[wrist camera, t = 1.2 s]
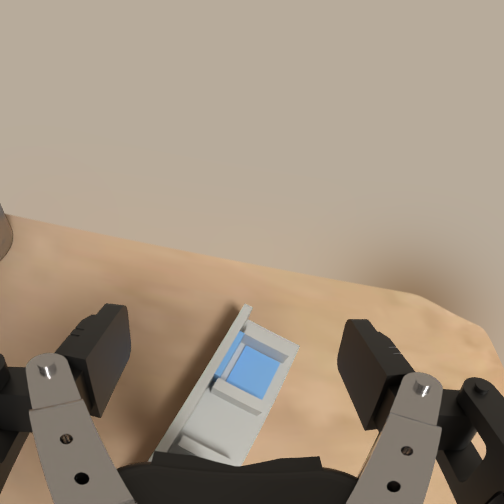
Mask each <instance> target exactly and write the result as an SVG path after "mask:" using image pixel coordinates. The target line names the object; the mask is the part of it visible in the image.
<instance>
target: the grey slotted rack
mask: <svg viewBox="0 0 504 504" xmlns="http://www.w3.org/2000/svg"><path fill="white" fill-rule="evenodd" d="M252 309H253V307H251V306H249V305H247V304H244V306H243V308H242V309H241V311H240V313H239V314H238V316H237V318H236V319H235V321H234V323H233V324H232V326H231V328H230V329H229V331H228V333H227V334H226V336H225V338H224V339H223V341H222V342H221V344H220V346H219V347H218V349H217V351H216V352H215V354H214V356H213V357H212V359H211V361H210V362H209V364H208V366H207V367H206V369H205V370H204V372H203V374H202V375H201V377H200V379H199V380H198V382H197V383H196V385H195V387H194V388H193V390H192V392H191V393H190V395H189V396H188V398H187V400H186V401H185V403H184V404H183V406H182V408H181V409H180V411H179V413H178V414H177V416H176V417H175V419H174V421H173V422H172V424H171V425H170V427H169V428H168V430H167V432H166V433H165V435H164V436H163V438H162V440H161V441H160V443H159V444H158V446H157V447H156V449H155V451H160V452H167V453H175V454H184V455H194V456H198V457H201V458H205V459H208V460H212V461H216V462H220V463H224V464H228V465H232V466H241V465H242V463H243V462H244V460H245V458H246V456H247V454H248V452H249V450H250V448H251V447H252V445H253V443H254V441H255V439H256V437H257V435H258V433H259V431H260V429H261V427H262V425H263V423H264V421H265V419H266V417H267V415H268V413H269V411H270V409H271V407H272V405H273V403H274V401H275V399H276V397H277V395H278V393H279V391H280V388H281V386H282V384H283V382H284V380H285V378H286V376H287V373H288V371H289V369H290V367H291V365H292V363H293V360H294V358H295V356H296V354H297V351H298V349H299V347H300V346H299V345H297V344H295V343H293V342H291V341H289V340H287V339H285V338H283V337H281V336H279V335H277V334H275V333H273V332H271V331H269V330H267V329H265V328H263V327H261V326H260V325H258V324H256V323H254V322H252V321H250V320H248V318H249V316H250V313H251V311H252ZM153 453H154V452H153ZM152 457H153V454H152V455H151V457H150V459H149V460H148V462H151V461H152Z"/></svg>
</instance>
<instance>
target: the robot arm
mask: <svg viewBox="0 0 504 504" xmlns="http://www.w3.org/2000/svg"><path fill="white" fill-rule="evenodd" d="M12 239H13V233H12V229H11V227H10V225H9V223H8V221H7V218H6V216H5V214H4V211H3V209H2V207H1V205H0V260H1V259H2V258H3V257H4V256H5V254H6V253H7V251H8V250H9V248H10V246H11V243H12ZM130 352H131V339H130V330H129V320H128V311H127V307H126V306H125V305H116V304H108V303H106V304H105V305H104V306H103V307H102V308H101V310H100V311H99V312H98V313H97V314H96V315H91V316H89V317H87V318H85V319H83V320H82V321H81V322H80V323H79V324H78V325H77V327H76V329H74V330H73V331H72V332H71V334H70V335H69V336H68V337H67V338H66V340H65V341H64V342H63V343H62V344H61V346H60V347H59V348H58V349H57V350H56V352H55V353H45V354H40V355H38V356H35V357H34V358H32V359H31V360H30V361H29V362H28V363H27V365H26V367H7V364H6V362H5V359H4V357H3V355H2V354H0V493H1V491H2V489H3V486H4V484H5V482H6V480H7V478H8V475H9V473H10V471H11V469H12V467H13V465H14V463H15V461H16V458H17V456H18V454H19V452H20V450H21V448H22V446H23V444H24V442H25V440H26V438H27V437H28V435H29V433H30V432H33V435H34V439H35V443H36V447H37V451H38V455H39V458H40V462H41V465H42V469H43V472H44V475H45V479H46V482H47V485H48V488H49V491H50V493H51V496H52V499H53V502H54V504H423V502H424V499H425V496H426V492H427V489H428V486H429V482H430V479H431V475H432V471H433V467H434V463H435V459H436V460H437V462H438V464H439V466H440V468H441V470H442V472H443V474H444V476H445V479H446V481H447V483H448V485H449V487H450V489H451V491H452V494H453V496H454V498H455V500H456V502H457V504H504V397H503V396H502V395H501V394H500V392H499V391H498V390H497V389H496V388H495V387H494V386H493V385H492V384H491V383H490V382H488V381H486V380H484V379H481V378H476V377H472V378H468V379H466V380H465V381H464V383H463V385H462V387H461V389H460V390H448V389H443V388H442V385H441V383H440V382H439V381H438V380H437V379H436V378H434V377H433V376H431V375H428V374H425V373H420V372H415V371H414V370H413V368H412V367H411V366H410V364H409V363H408V362H407V360H406V359H405V358H404V356H403V355H402V354H400V353H401V352H400V351H399V350H398V349H397V348H396V346H395V345H394V343H393V342H392V341H391V340H390V338H388V337H387V336H385V335H384V334H382V333H381V332H377V331H376V329H375V328H374V327H373V325H372V324H371V323H370V321H369V320H367V319H349V320H347V322H346V324H345V328H344V332H343V336H342V340H341V344H340V348H339V352H338V358H337V365H338V370H339V373H340V375H341V377H342V379H343V382H344V384H345V386H346V388H347V391H348V393H349V395H350V398H351V400H352V402H353V404H354V407H355V409H356V411H357V414H358V416H359V418H360V420H361V423H362V425H363V427H364V430H365V431H366V430H373V429H378V431H379V434H378V436H377V438H376V440H375V442H374V444H373V446H372V448H371V450H370V452H369V454H368V456H367V458H366V460H365V462H364V464H363V466H362V468H361V470H360V472H359V474H358V476H357V477H355V476H353V475H350V474H348V473H345V472H342V471H339V470H335V469H330V468H324V467H322V464H321V461H320V457H319V456H318V457H303V458H280V459H276V460H271V461H266V462H261V463H256V464H251V465H245V466H232V465H228V464H224V463H220V462H216V461H212V460H208V459H205V458H201V457H198V456H194V455H184V454H175V453H167V452H160V451H154V453H153V457H152V461H151V462H141V463H135V464H130V465H126V466H123V467H120V468H118V469H116V468H115V466H114V464H113V462H112V460H111V458H110V457H109V455H108V453H107V451H106V449H105V447H104V445H103V443H102V441H101V439H100V436H99V434H98V432H97V430H96V428H95V426H94V423H93V421H92V419H91V417H90V416H95V417H99V418H101V417H102V414H103V412H104V410H105V408H106V406H107V403H108V401H109V399H110V397H111V395H112V393H113V391H114V388H115V386H116V384H117V382H118V380H119V378H120V376H121V374H122V372H123V370H124V368H125V366H126V364H127V361H128V359H129V357H130ZM476 432H478V433H479V435H480V436H481V438H482V439H483V441H484V443H485V445H486V456H485V458H484V459H483V460H482V459H481V457H480V455H479V454H478V452H477V450H476V449H475V447H474V445H473V444H472V442H471V440H472V438H473V437H474V435H475V434H476Z"/></svg>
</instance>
